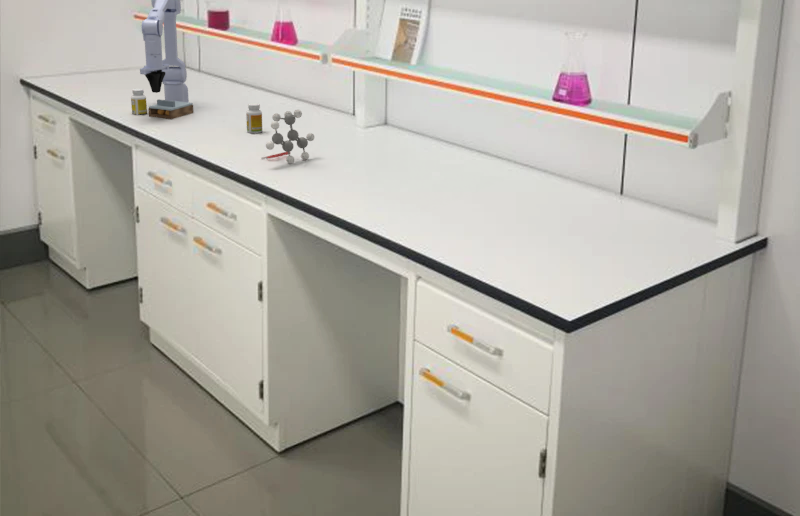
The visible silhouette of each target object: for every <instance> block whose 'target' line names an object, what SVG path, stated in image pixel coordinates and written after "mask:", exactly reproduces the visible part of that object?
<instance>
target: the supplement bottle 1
mask: <svg viewBox="0 0 800 516" xmlns="http://www.w3.org/2000/svg"><path fill="white" fill-rule="evenodd" d="M144 92H145V91H144V88H132V94H133V95H131V97H130V104H131V113H132V115H133V116H145V115H148V107H147V97H146V95H145V93H144Z"/></svg>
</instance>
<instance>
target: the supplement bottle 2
mask: <svg viewBox="0 0 800 516" xmlns="http://www.w3.org/2000/svg"><path fill="white" fill-rule="evenodd" d="M247 109H248V110H246V115H245V116H246V117H245V118H246V132H247V133H248V134H260V133H262V132H263V112H262V110H261V105H260V104H259V103H248V105H247Z"/></svg>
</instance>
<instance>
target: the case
mask: <svg viewBox="0 0 800 516" xmlns="http://www.w3.org/2000/svg"><path fill="white" fill-rule="evenodd" d="M157 110H158V109H153V108H149V107H147V112H148V117H150V118H159V119H166V120H167V119H168V120H174V119H177V118H181V117H184V116H188V115H190V114H194V104H193V105H189V106H186V107H182V108H179V109H175V110H172V111H169V115H166V113H165V114H164V115H161V114H158V113H157ZM165 112H166V110H165Z"/></svg>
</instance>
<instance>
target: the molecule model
mask: <svg viewBox="0 0 800 516" xmlns="http://www.w3.org/2000/svg"><path fill="white" fill-rule="evenodd" d="M283 115H284V117H281V115H280V114H279V113H277V112H276V113H273V115H272V117H271V118H272V122H271V124H270V127H271V128H272V130H274V131H275V133H274V134H273V135H272V136H271V141H270V140H268V141H267V142H266V143H265V147H266V149H267V150H269V151H271V150H273V149H274V148H275V145H281V148H282V150H283V151H284V152H280V153H275V154H271V155H266V156H262V157H260V159H261V160H263V159H272V158H273V159H274V158H279V157H283V156H286V159H285V161H286V163H287V164H289V165H291V164H294V162H295V157H294V156H293V155H291V152H292V151H293V149H294V143H293V142H295V141H296V146H297V147H298V148H300V149H302V151H303V152H302V153H301V154H300V157H301V160H304V161H307V160H308V159H309V158H310V154H309V152H307V151H306V150H305V149H306V148H307V146H308V145H309V142H313V141H314V140H315V135H314V133H311V132H309V133H307V134H306V137H302V136H301V137H299V132H298V131H297V130H296V129H294V128H293V125H294V124H295V123H296V118H297V119H300V118H301V117H302V116H303V113H302V111H301V110H300V109H295V110H294V111H293V113H292V112H291V111H289V110H286V111H285V112H284V114H283ZM280 120H282V121H283V120H284V123H285V124H286V125H289V128H290V130H288V132H287V138H288V140H284V136H283V134H281V133H280V132H278V129H279V128H280V122H279V121H280ZM287 155H288V156H287Z"/></svg>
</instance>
